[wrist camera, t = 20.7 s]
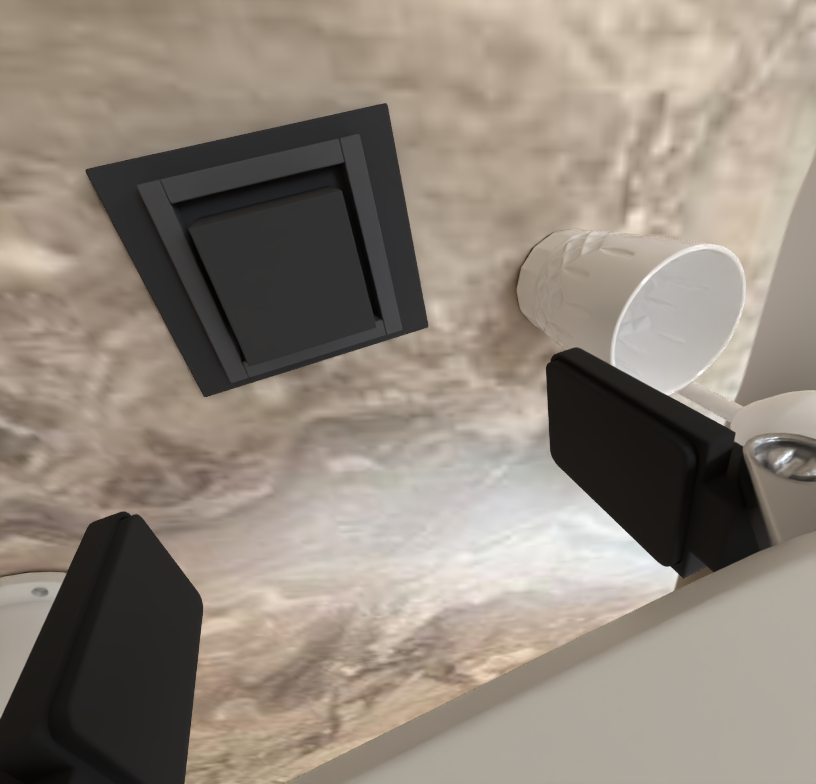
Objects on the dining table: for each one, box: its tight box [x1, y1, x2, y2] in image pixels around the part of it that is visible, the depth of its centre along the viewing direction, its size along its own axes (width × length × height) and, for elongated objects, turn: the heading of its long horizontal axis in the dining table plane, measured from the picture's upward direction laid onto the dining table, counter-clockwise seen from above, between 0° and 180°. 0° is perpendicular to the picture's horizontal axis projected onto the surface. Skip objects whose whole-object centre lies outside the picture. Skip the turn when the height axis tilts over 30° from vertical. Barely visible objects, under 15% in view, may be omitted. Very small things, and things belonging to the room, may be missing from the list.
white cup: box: [516, 229, 746, 395], centre depth 25 cm, size 8×8×10 cm
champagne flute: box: [676, 382, 816, 446], centre depth 25 cm, size 7×7×24 cm
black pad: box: [188, 186, 376, 366], centre depth 21 cm, size 6×6×4 cm
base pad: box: [86, 103, 428, 397], centre depth 23 cm, size 14×12×2 cm
